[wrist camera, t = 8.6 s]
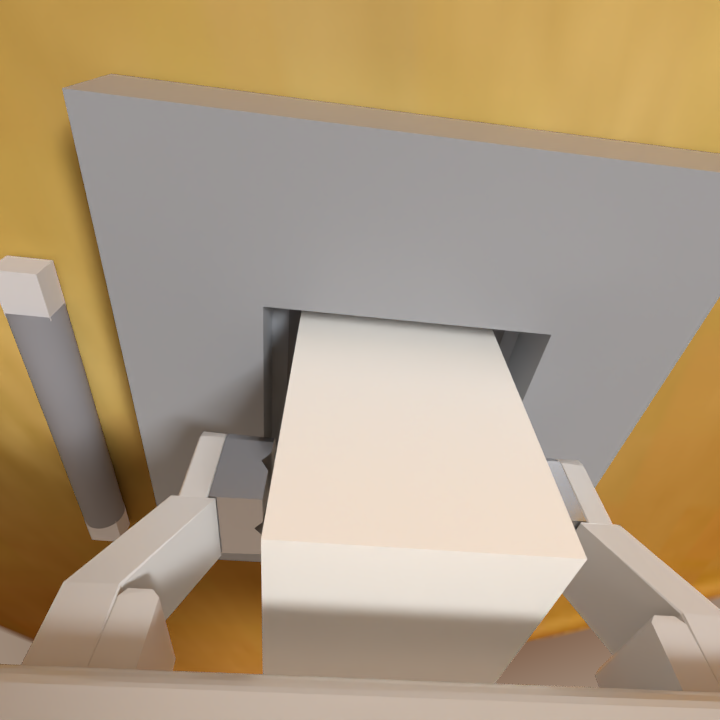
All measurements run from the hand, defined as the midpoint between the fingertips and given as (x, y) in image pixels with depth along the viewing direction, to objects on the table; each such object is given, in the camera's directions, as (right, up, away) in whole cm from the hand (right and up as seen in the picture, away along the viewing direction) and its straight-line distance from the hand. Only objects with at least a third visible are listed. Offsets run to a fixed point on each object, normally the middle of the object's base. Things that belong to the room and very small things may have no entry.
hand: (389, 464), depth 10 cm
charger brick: (0, +2, +2) cm, 3 cm away
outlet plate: (0, +2, +2) cm, 3 cm away
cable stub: (-9, +1, +3) cm, 9 cm away
